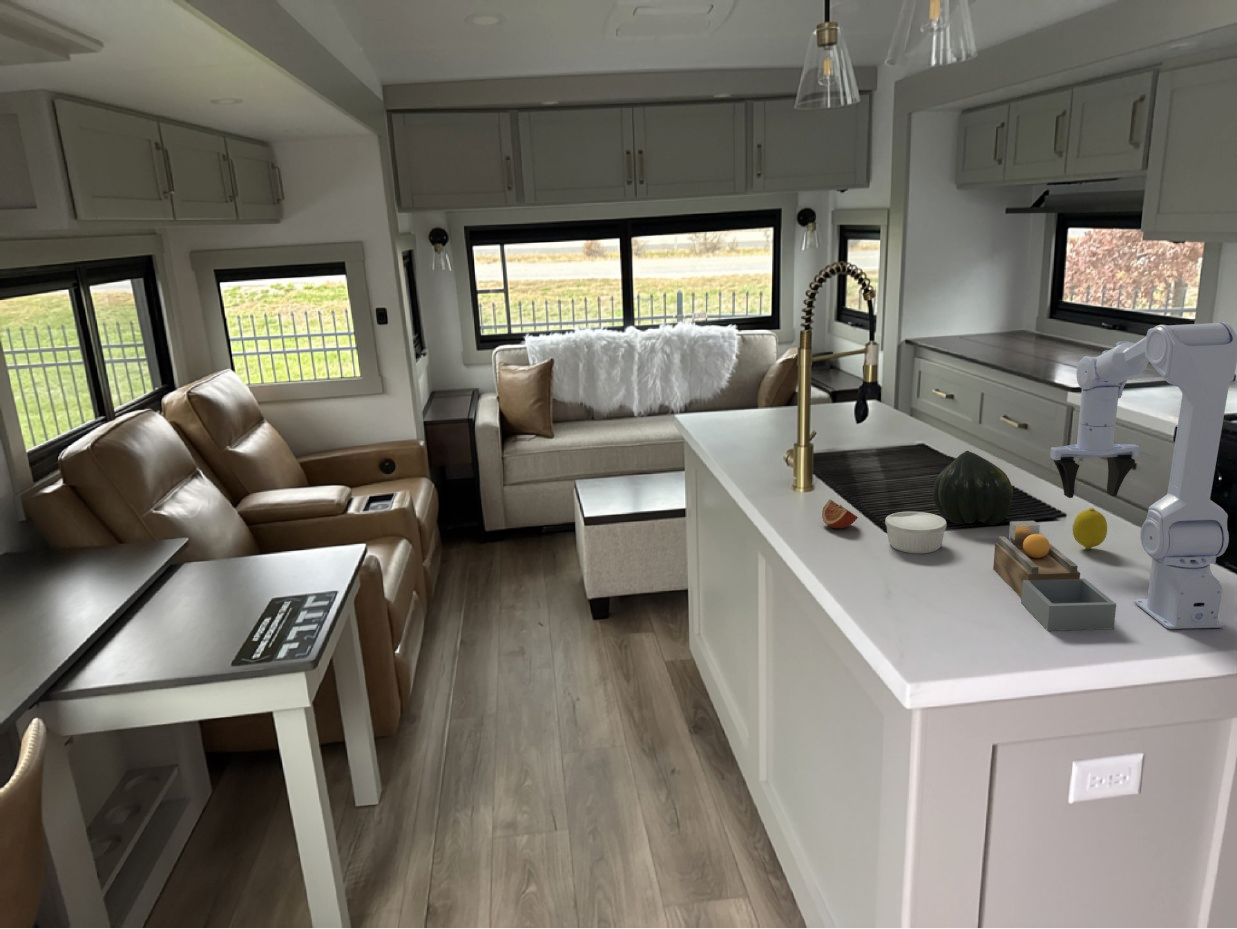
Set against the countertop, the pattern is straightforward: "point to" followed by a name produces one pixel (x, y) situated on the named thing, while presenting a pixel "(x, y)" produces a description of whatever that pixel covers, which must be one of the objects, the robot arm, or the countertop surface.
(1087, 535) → the lemon
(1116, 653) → the countertop surface
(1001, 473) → the squash
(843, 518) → the fruit slice
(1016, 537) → the plunger
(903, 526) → the ramekin
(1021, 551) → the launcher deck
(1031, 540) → the ball
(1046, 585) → the grey open tray
